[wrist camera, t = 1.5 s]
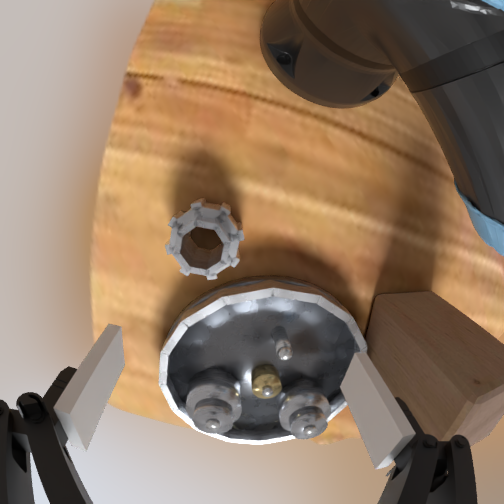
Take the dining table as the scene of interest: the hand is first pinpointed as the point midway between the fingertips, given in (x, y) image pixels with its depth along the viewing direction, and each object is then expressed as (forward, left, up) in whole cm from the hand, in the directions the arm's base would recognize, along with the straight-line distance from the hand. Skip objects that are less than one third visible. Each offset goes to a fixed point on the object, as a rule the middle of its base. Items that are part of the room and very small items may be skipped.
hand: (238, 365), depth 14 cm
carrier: (+12, +6, -16) cm, 21 cm away
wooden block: (+4, +23, -16) cm, 28 cm away
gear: (-3, -3, -16) cm, 16 cm away
